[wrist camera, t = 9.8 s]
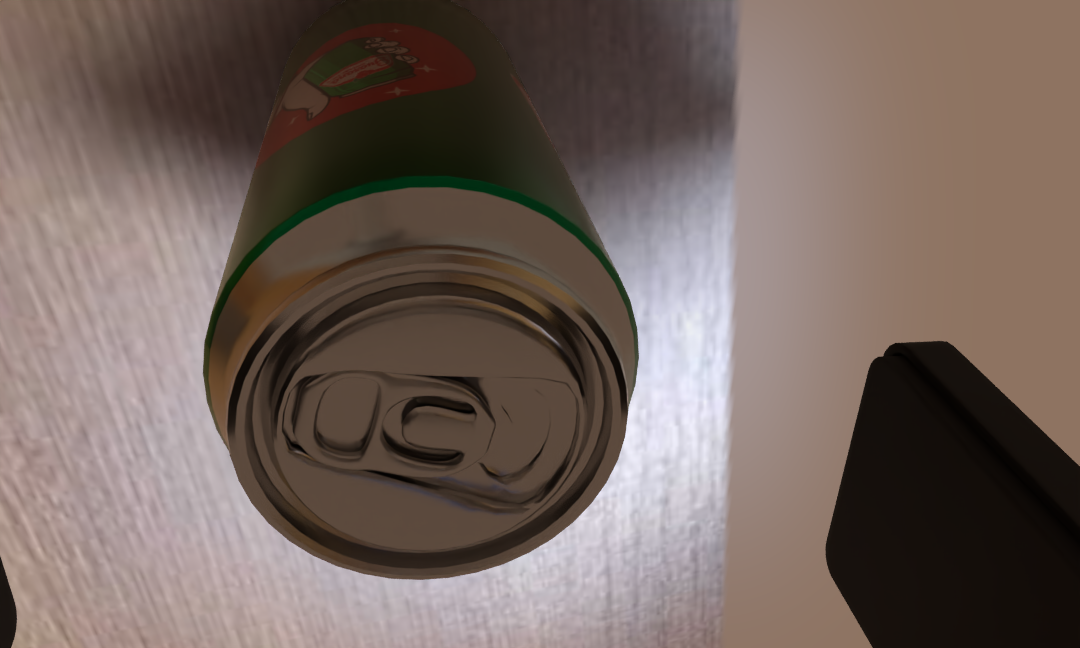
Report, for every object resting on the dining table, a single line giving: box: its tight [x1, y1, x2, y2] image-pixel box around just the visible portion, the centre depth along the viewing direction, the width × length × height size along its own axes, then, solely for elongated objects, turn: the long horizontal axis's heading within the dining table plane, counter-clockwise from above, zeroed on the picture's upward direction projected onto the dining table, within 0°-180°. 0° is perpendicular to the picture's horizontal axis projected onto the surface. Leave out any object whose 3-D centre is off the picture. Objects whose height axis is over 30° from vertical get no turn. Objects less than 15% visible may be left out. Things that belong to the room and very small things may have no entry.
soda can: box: [203, 0, 639, 580], centre depth 15 cm, size 5×5×12 cm
